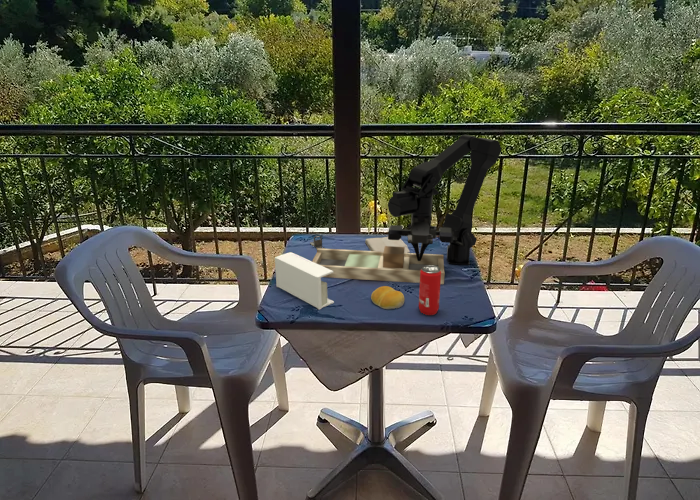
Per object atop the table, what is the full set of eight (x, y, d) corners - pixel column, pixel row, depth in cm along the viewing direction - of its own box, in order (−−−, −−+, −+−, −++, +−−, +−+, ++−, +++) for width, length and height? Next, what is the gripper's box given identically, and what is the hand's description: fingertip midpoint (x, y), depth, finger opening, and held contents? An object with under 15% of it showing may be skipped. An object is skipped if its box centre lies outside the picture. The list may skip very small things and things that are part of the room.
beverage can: (416, 306, 134) (418, 265, 130) (435, 306, 135) (438, 264, 130) (420, 316, 129) (423, 273, 125) (440, 315, 130) (443, 272, 125)
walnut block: (404, 260, 157) (404, 247, 155) (403, 268, 151) (403, 254, 150) (384, 259, 158) (384, 246, 156) (382, 267, 152) (383, 253, 150)
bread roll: (389, 313, 131) (390, 299, 130) (366, 301, 138) (366, 288, 136) (411, 303, 136) (412, 290, 135) (388, 292, 143) (388, 279, 141)
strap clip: (309, 244, 178) (308, 233, 176) (317, 243, 179) (316, 231, 177) (319, 252, 171) (318, 240, 169) (327, 251, 172) (326, 239, 170)
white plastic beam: (334, 303, 137) (333, 271, 133) (318, 310, 133) (317, 277, 130) (289, 280, 150) (287, 250, 147) (273, 286, 147) (271, 255, 143)
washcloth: (377, 264, 162) (377, 255, 161) (363, 244, 178) (363, 235, 177) (413, 260, 165) (413, 251, 163) (396, 241, 181) (396, 233, 180)
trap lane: (442, 265, 160) (443, 254, 158) (443, 284, 147) (444, 273, 146) (317, 258, 165) (317, 248, 164) (308, 276, 152) (307, 265, 151)
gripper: (387, 218, 141) (385, 269, 147) (455, 220, 138) (451, 273, 144) (390, 206, 151) (388, 255, 157) (454, 208, 149) (450, 258, 154)
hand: (419, 260), depth 153 cm, fingers closed
